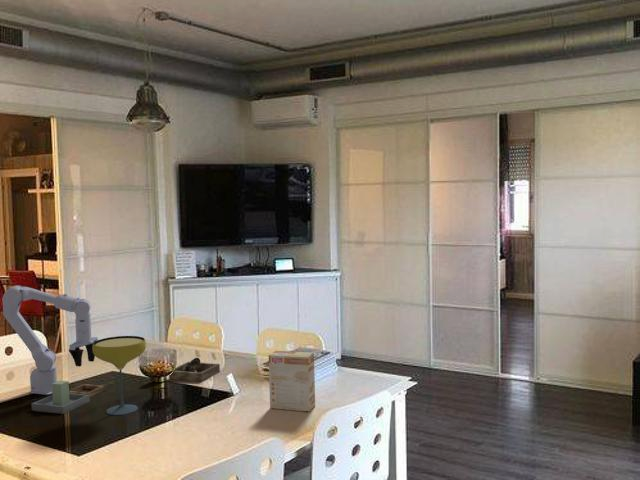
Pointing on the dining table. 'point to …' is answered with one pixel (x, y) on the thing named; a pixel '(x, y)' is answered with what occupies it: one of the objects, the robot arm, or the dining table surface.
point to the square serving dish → (206, 373)
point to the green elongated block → (60, 393)
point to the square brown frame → (87, 386)
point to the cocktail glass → (119, 361)
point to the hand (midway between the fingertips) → (84, 363)
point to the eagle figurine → (192, 365)
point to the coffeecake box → (292, 380)
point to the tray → (48, 406)
